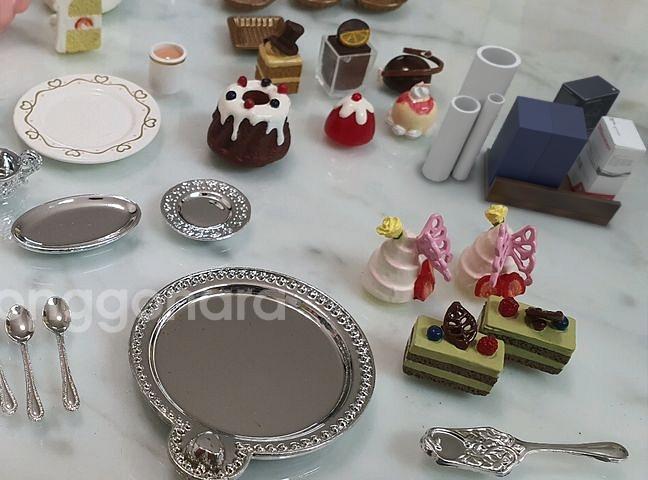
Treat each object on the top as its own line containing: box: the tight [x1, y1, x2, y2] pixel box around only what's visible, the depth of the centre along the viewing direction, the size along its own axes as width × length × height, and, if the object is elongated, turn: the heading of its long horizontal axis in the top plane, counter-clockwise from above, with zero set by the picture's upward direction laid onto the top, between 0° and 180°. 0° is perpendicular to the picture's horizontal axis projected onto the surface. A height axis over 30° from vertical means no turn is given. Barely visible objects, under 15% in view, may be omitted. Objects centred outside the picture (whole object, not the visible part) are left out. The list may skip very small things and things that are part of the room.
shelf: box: [483, 147, 622, 227], centre depth 127 cm, size 19×13×4 cm
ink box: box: [567, 115, 648, 200], centre depth 121 cm, size 9×5×12 cm, turn 170°
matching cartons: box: [488, 95, 588, 189], centre depth 123 cm, size 10×9×12 cm
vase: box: [421, 44, 522, 183], centre depth 124 cm, size 11×7×20 cm, turn 146°
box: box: [552, 74, 621, 139], centre depth 134 cm, size 8×6×11 cm
